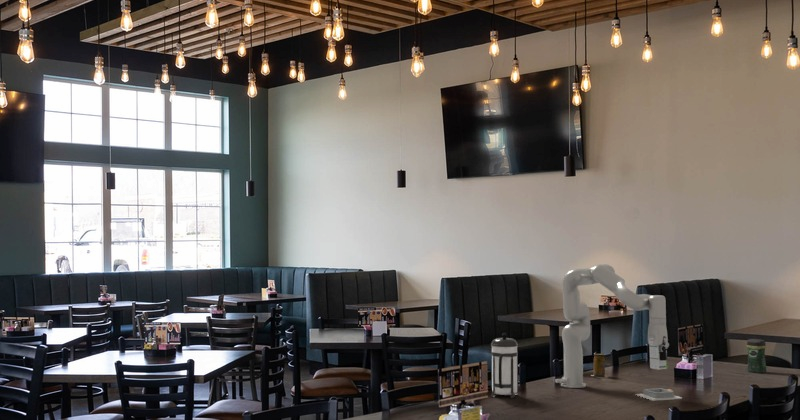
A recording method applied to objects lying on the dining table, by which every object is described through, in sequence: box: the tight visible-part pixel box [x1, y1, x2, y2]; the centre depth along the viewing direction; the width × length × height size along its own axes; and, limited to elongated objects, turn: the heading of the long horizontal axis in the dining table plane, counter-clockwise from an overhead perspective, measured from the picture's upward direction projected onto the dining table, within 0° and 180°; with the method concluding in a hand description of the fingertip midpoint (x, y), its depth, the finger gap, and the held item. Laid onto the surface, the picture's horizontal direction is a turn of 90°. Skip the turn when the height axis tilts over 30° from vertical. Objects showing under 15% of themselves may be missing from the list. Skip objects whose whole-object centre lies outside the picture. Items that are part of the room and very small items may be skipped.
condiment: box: [590, 353, 609, 379], centre depth 448 cm, size 7×8×12 cm
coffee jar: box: [746, 338, 767, 374], centre depth 463 cm, size 10×8×19 cm
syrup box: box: [648, 338, 668, 371], centre depth 389 cm, size 6×6×14 cm
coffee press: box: [490, 332, 519, 399], centre depth 390 cm, size 17×16×30 cm
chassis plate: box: [634, 387, 683, 402], centre depth 388 cm, size 16×14×3 cm
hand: (658, 358), depth 389 cm, fingers closed on syrup box, 6 cm apart
